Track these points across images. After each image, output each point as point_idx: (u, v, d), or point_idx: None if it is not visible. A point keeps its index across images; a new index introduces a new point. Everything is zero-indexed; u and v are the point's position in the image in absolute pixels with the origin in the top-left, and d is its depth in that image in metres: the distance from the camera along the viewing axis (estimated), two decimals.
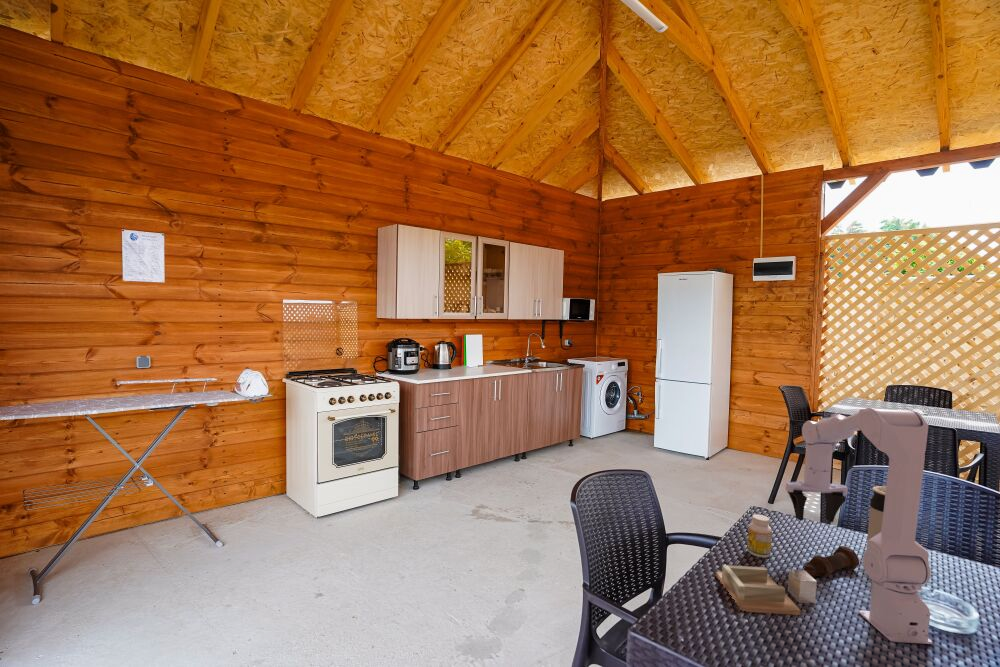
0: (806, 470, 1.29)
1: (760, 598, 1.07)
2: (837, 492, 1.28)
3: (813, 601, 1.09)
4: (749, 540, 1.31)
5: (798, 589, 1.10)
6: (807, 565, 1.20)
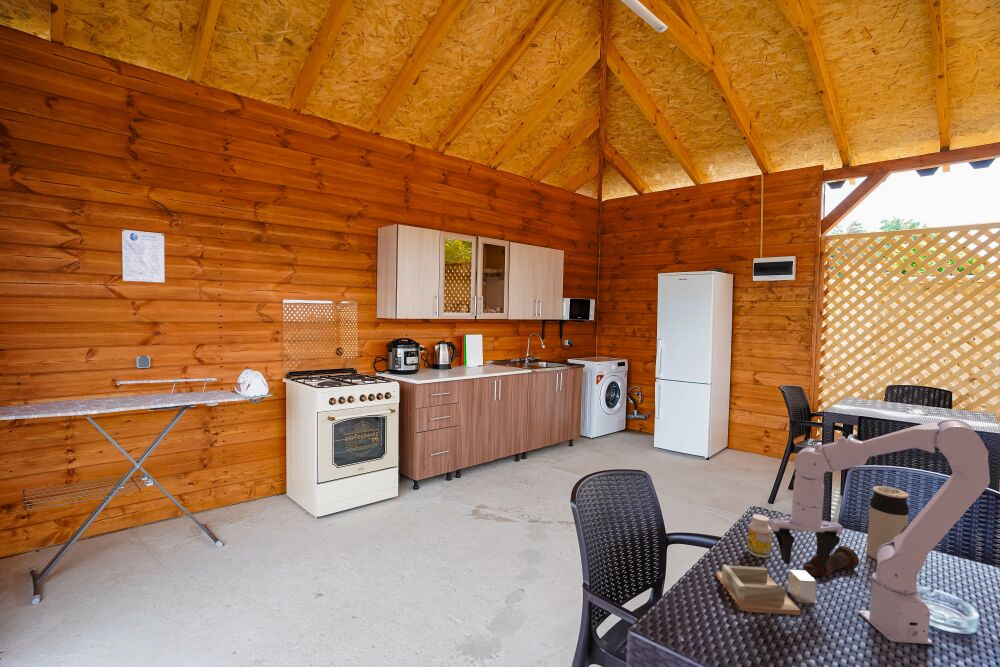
0: (794, 505, 1.11)
1: (760, 598, 1.07)
2: (830, 531, 1.10)
3: (813, 601, 1.09)
4: (749, 540, 1.31)
5: (798, 589, 1.10)
6: (807, 564, 1.20)
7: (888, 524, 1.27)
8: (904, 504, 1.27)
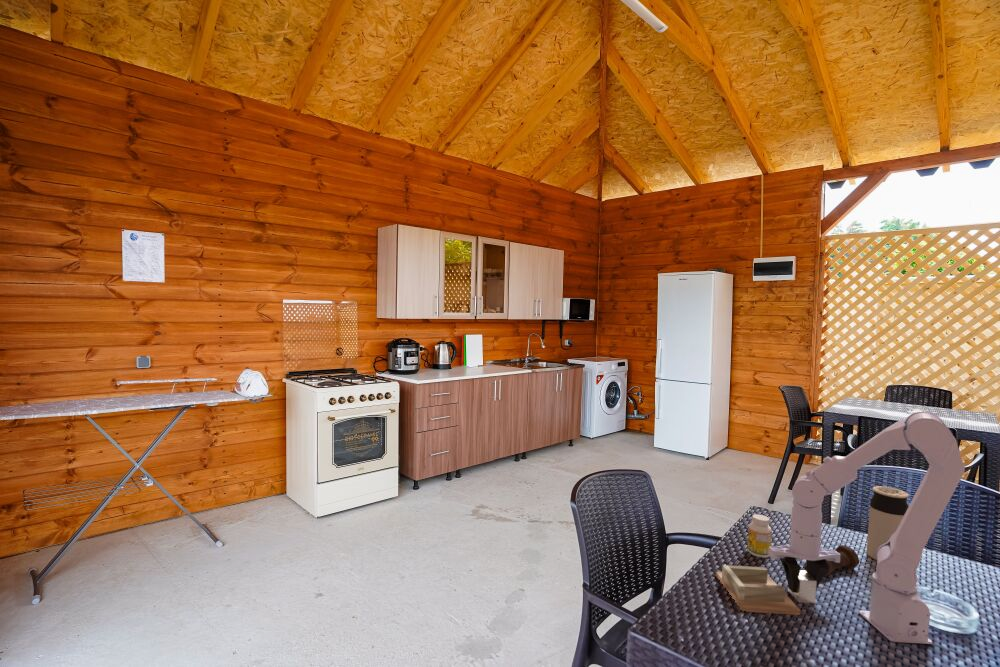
0: (792, 533, 1.11)
1: (760, 598, 1.07)
2: None
3: (813, 601, 1.09)
4: (749, 540, 1.31)
5: (798, 589, 1.10)
6: None
7: (888, 524, 1.27)
8: (904, 504, 1.27)
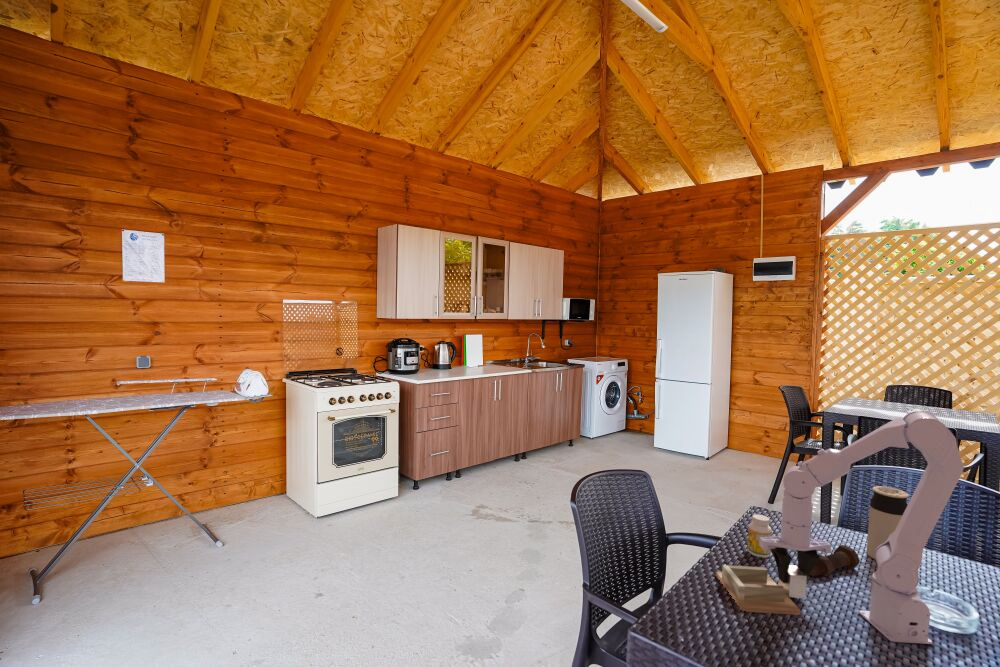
0: (782, 524, 1.11)
1: (760, 598, 1.07)
2: (810, 549, 1.10)
3: (803, 596, 1.09)
4: (749, 540, 1.31)
5: (788, 584, 1.10)
6: None
7: (888, 524, 1.27)
8: (904, 504, 1.27)
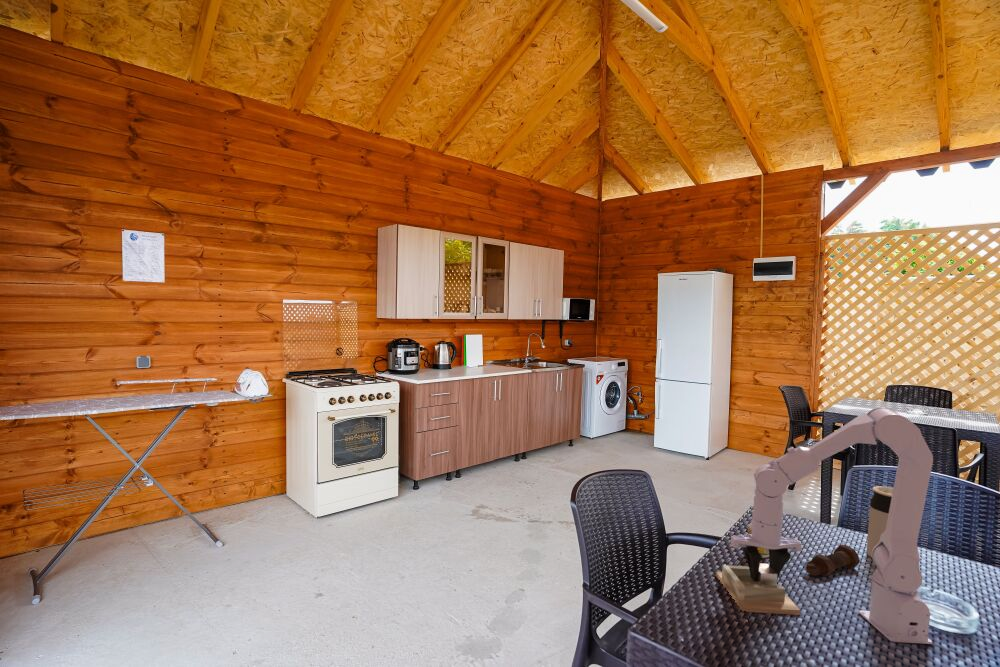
0: (753, 522, 1.11)
1: (760, 598, 1.07)
2: (781, 548, 1.11)
3: None
4: None
5: (759, 582, 1.10)
6: (809, 564, 1.21)
7: None
8: None
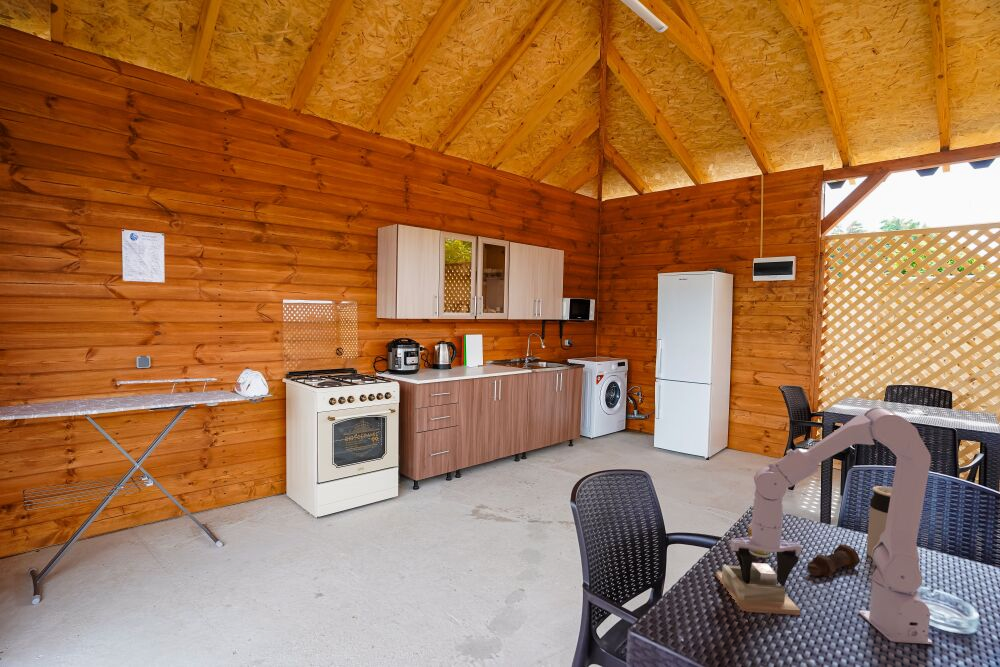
0: (753, 525, 1.11)
1: (760, 598, 1.07)
2: (789, 551, 1.10)
3: None
4: None
5: (759, 582, 1.10)
6: (810, 564, 1.21)
7: None
8: None
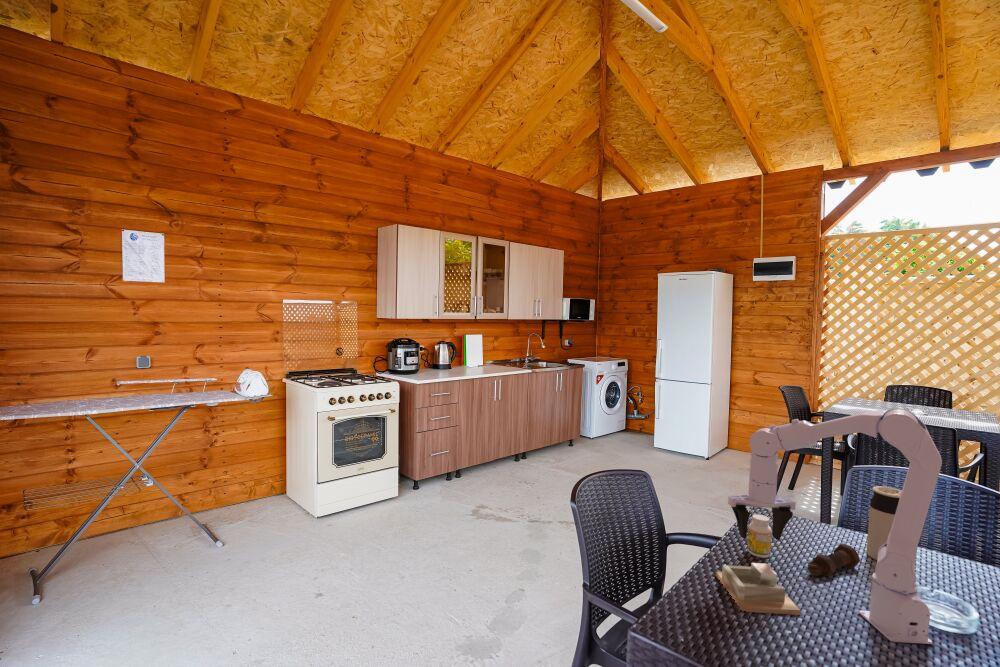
0: (750, 482, 1.17)
1: (760, 598, 1.07)
2: (784, 507, 1.16)
3: None
4: (749, 540, 1.31)
5: (759, 582, 1.10)
6: (811, 564, 1.21)
7: (888, 524, 1.27)
8: None
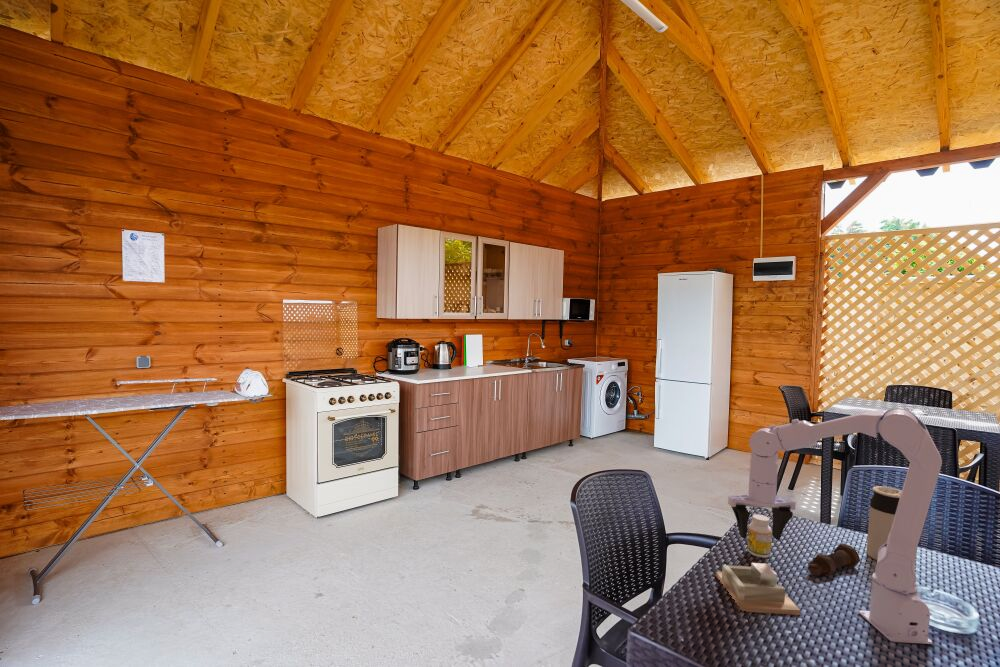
0: (750, 482, 1.17)
1: (760, 598, 1.07)
2: (784, 507, 1.16)
3: None
4: (749, 540, 1.31)
5: (759, 582, 1.10)
6: (811, 564, 1.21)
7: (888, 524, 1.27)
8: None
